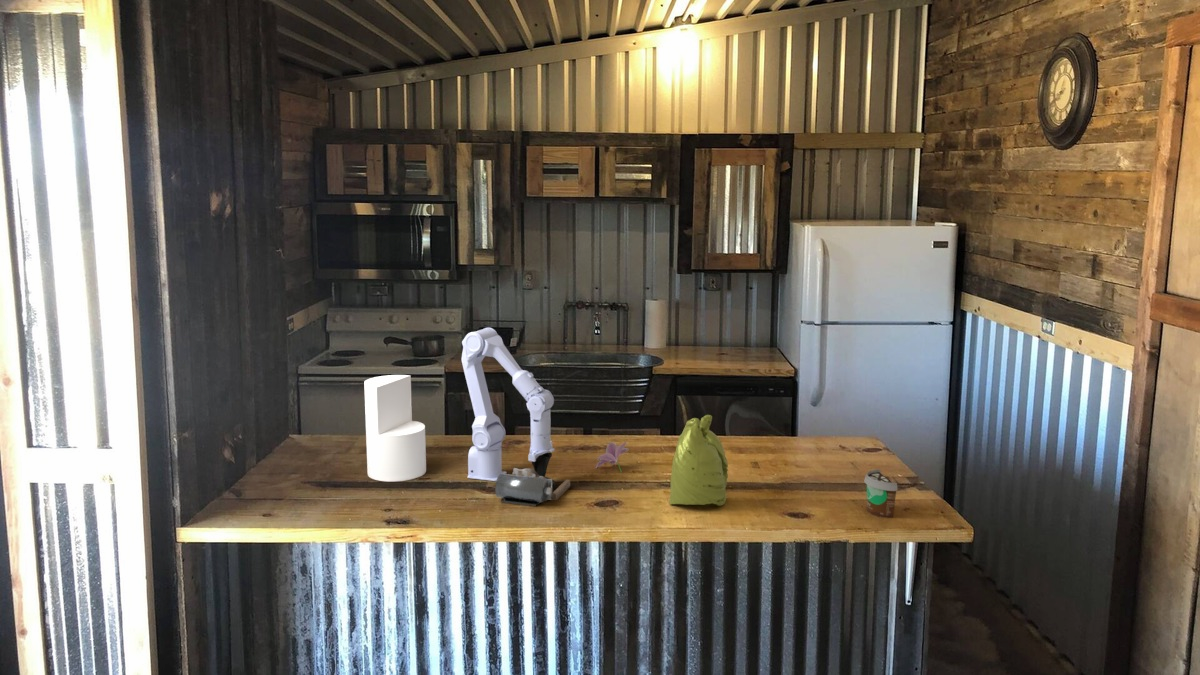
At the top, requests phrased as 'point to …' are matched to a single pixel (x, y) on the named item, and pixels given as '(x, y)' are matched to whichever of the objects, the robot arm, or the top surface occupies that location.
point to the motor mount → (527, 489)
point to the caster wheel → (530, 474)
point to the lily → (612, 454)
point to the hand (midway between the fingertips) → (540, 478)
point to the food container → (880, 494)
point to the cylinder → (393, 430)
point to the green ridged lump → (699, 466)
